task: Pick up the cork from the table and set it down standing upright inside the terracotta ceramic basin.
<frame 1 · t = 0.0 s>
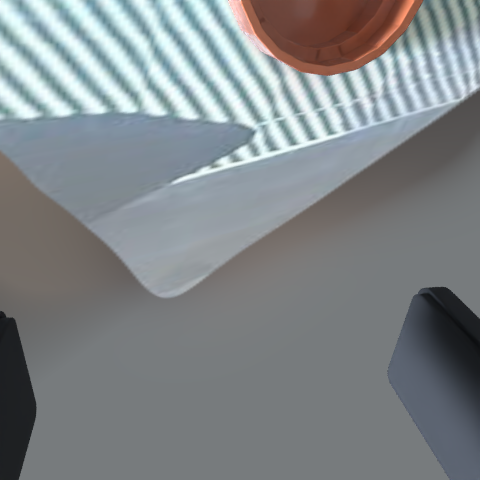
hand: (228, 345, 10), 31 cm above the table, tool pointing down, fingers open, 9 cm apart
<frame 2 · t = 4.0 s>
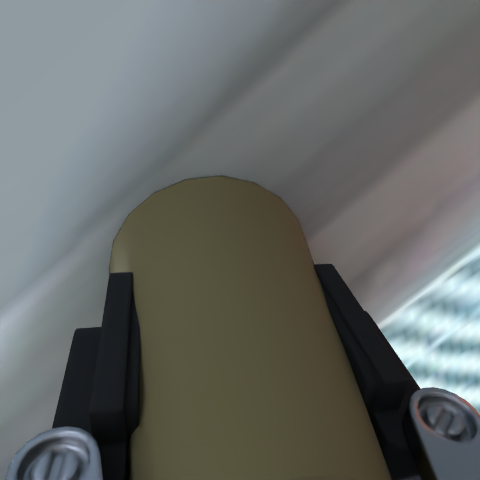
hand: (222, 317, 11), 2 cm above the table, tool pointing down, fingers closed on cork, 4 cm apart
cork: (210, 264, 13), on the table, touching gripper
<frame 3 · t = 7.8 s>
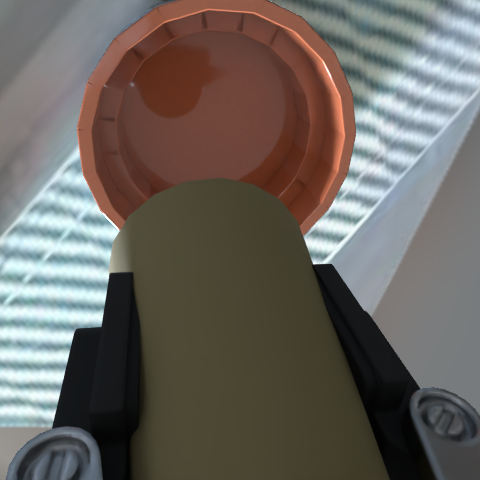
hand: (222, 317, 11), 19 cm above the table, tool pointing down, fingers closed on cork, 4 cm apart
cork: (210, 266, 13), point 16 cm above the table, touching gripper
basin: (210, 123, 27), on the table
when the fingers open (3 cm above the table, at t = 11.7 s): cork stays where it is, resting on basin.
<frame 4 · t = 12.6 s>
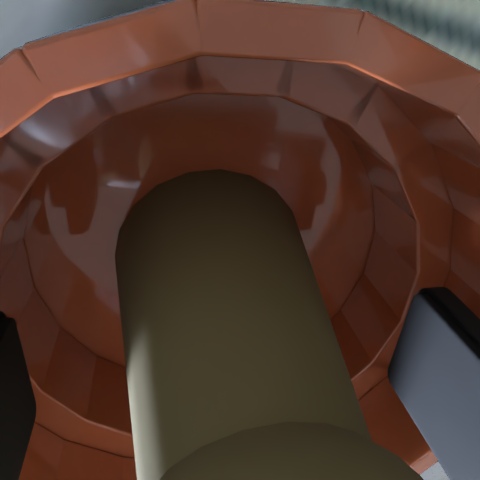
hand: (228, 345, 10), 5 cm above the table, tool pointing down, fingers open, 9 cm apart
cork: (210, 254, 14), resting on basin
basin: (209, 246, 14), on the table
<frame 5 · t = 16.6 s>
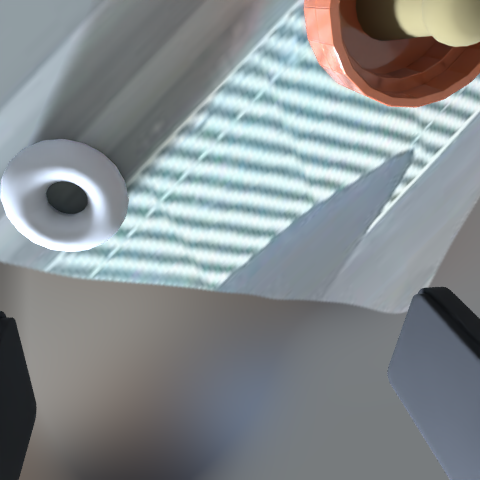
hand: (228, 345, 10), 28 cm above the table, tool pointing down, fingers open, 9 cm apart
donut: (70, 189, 36), on the table
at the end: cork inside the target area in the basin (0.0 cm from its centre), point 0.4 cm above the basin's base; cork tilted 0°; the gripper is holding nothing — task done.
